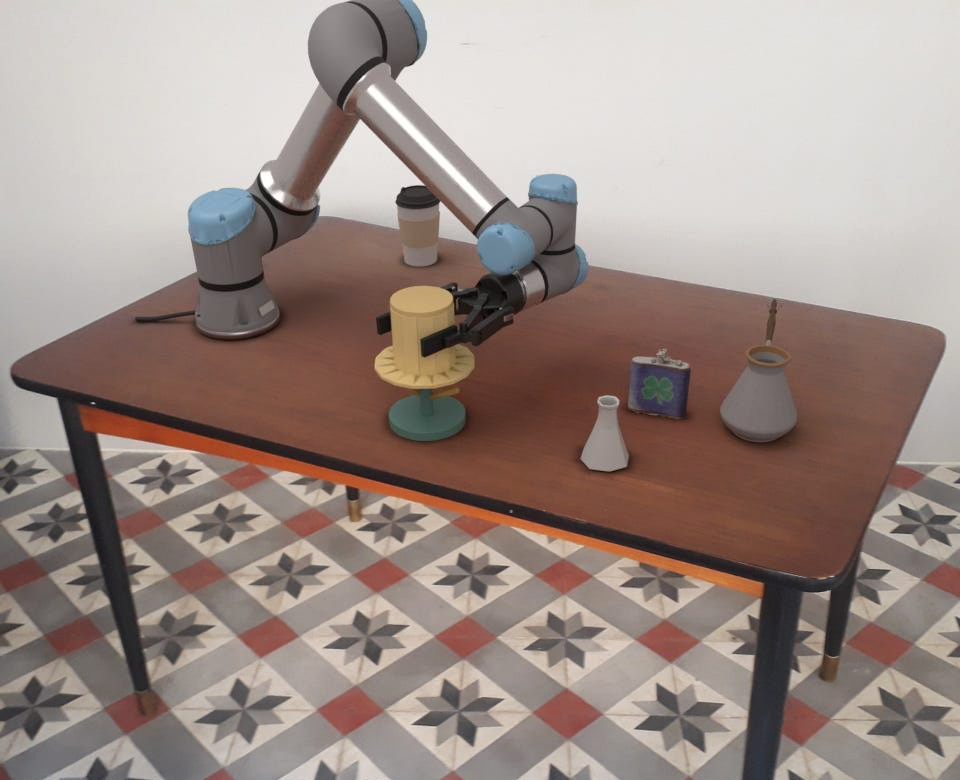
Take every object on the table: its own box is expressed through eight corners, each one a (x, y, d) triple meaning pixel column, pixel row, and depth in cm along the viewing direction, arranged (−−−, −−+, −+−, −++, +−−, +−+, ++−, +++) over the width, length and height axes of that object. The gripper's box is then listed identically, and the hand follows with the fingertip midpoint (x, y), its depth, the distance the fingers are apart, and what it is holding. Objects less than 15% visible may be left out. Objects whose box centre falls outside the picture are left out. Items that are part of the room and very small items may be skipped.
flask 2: (626, 411, 165) (631, 350, 159) (629, 402, 168) (635, 342, 162) (684, 420, 163) (691, 359, 157) (687, 411, 165) (694, 351, 159)
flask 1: (576, 447, 157) (579, 389, 151) (624, 444, 158) (628, 386, 152) (584, 474, 151) (587, 415, 145) (633, 471, 152) (638, 412, 146)
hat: (358, 378, 155) (351, 312, 149) (400, 335, 166) (396, 272, 160) (451, 396, 150) (449, 328, 144) (488, 350, 162) (488, 285, 156)
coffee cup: (445, 251, 220) (442, 181, 211) (439, 269, 212) (436, 197, 204) (402, 250, 221) (398, 180, 212) (395, 268, 213) (391, 196, 205)
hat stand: (376, 432, 161) (366, 314, 150) (408, 396, 170) (401, 281, 159) (447, 447, 158) (443, 327, 146) (477, 409, 167) (475, 293, 155)
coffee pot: (792, 454, 155) (809, 364, 146) (714, 443, 157) (726, 354, 149) (797, 385, 172) (813, 301, 163) (726, 376, 174) (738, 293, 166)
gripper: (559, 334, 160) (451, 386, 148) (462, 292, 174) (355, 336, 161) (561, 289, 156) (450, 338, 143) (461, 249, 169) (351, 291, 157)
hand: (400, 337), depth 152 cm, fingers closed on hat, 9 cm apart
